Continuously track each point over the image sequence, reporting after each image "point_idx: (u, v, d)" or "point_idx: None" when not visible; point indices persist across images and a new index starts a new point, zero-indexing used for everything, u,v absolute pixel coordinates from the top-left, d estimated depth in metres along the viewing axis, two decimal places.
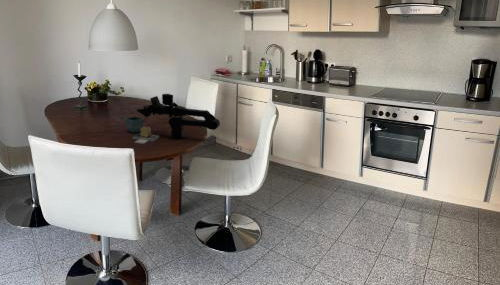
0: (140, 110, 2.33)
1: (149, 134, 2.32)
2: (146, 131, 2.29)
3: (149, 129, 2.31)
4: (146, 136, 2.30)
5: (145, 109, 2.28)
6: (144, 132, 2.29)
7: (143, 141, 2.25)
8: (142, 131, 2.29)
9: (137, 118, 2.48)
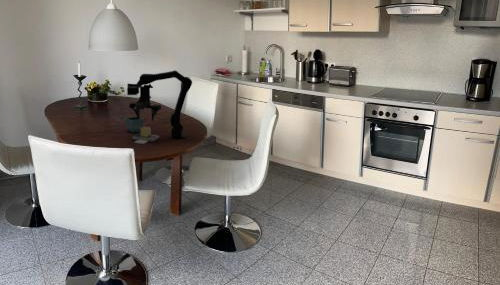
0: (153, 116, 2.27)
1: (149, 134, 2.32)
2: (146, 131, 2.29)
3: (149, 129, 2.31)
4: (146, 136, 2.30)
5: (158, 109, 2.23)
6: (144, 132, 2.29)
7: (143, 141, 2.25)
8: (142, 131, 2.29)
9: (137, 118, 2.48)
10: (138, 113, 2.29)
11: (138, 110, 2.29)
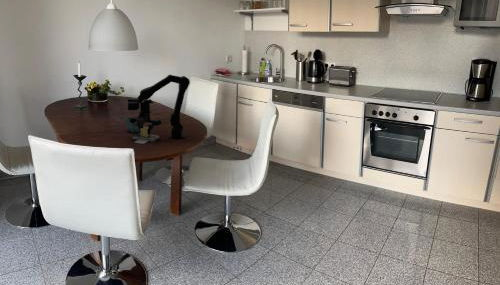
0: (150, 130, 2.30)
1: None
2: (146, 131, 2.29)
3: None
4: (146, 136, 2.30)
5: (158, 124, 2.26)
6: (144, 132, 2.29)
7: (143, 141, 2.25)
8: (142, 131, 2.29)
9: None
10: None
11: (142, 125, 2.32)
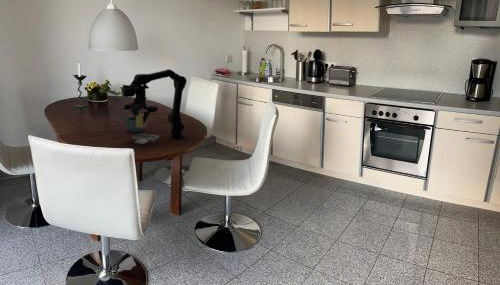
0: (146, 117, 2.20)
1: None
2: (141, 118, 2.19)
3: None
4: (141, 123, 2.20)
5: (153, 110, 2.16)
6: (140, 119, 2.19)
7: (143, 141, 2.25)
8: (137, 118, 2.19)
9: None
10: None
11: (137, 112, 2.22)
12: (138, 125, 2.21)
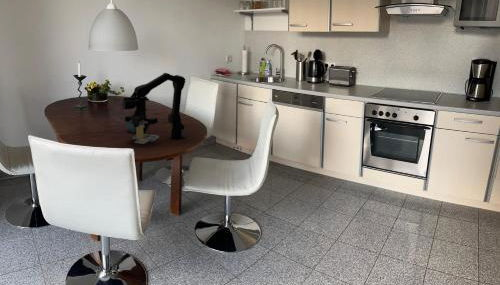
0: (146, 129, 2.22)
1: None
2: (141, 130, 2.21)
3: None
4: (142, 135, 2.22)
5: (154, 122, 2.18)
6: (140, 131, 2.21)
7: (143, 141, 2.25)
8: (138, 130, 2.21)
9: None
10: None
11: (137, 123, 2.24)
12: (138, 136, 2.22)
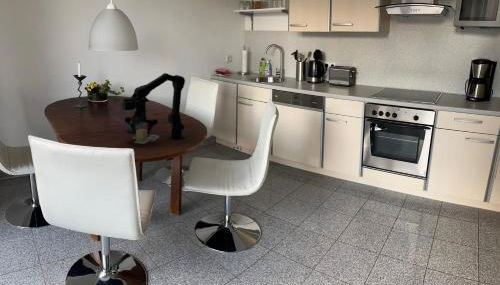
0: (150, 130, 2.22)
1: (145, 136, 2.25)
2: (141, 133, 2.21)
3: (145, 131, 2.24)
4: (142, 138, 2.22)
5: (154, 123, 2.18)
6: (140, 134, 2.22)
7: None
8: (138, 133, 2.22)
9: None
10: (134, 127, 2.24)
11: (134, 124, 2.24)
12: (138, 140, 2.23)
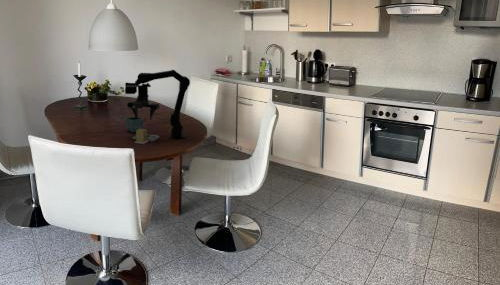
0: (152, 115, 2.28)
1: (145, 136, 2.25)
2: (141, 133, 2.21)
3: (145, 131, 2.24)
4: (142, 138, 2.22)
5: (156, 107, 2.24)
6: (140, 134, 2.22)
7: None
8: (138, 133, 2.22)
9: (137, 118, 2.48)
10: (136, 112, 2.30)
11: (136, 109, 2.30)
12: (138, 140, 2.23)
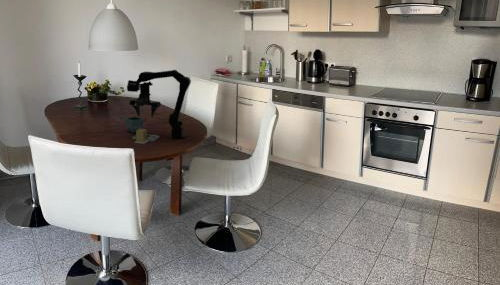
0: (153, 113, 2.33)
1: (145, 136, 2.25)
2: (141, 133, 2.21)
3: (145, 131, 2.24)
4: (142, 138, 2.22)
5: (157, 105, 2.29)
6: (140, 134, 2.22)
7: None
8: (138, 133, 2.22)
9: (137, 118, 2.48)
10: (138, 110, 2.35)
11: (138, 107, 2.35)
12: (138, 140, 2.23)
